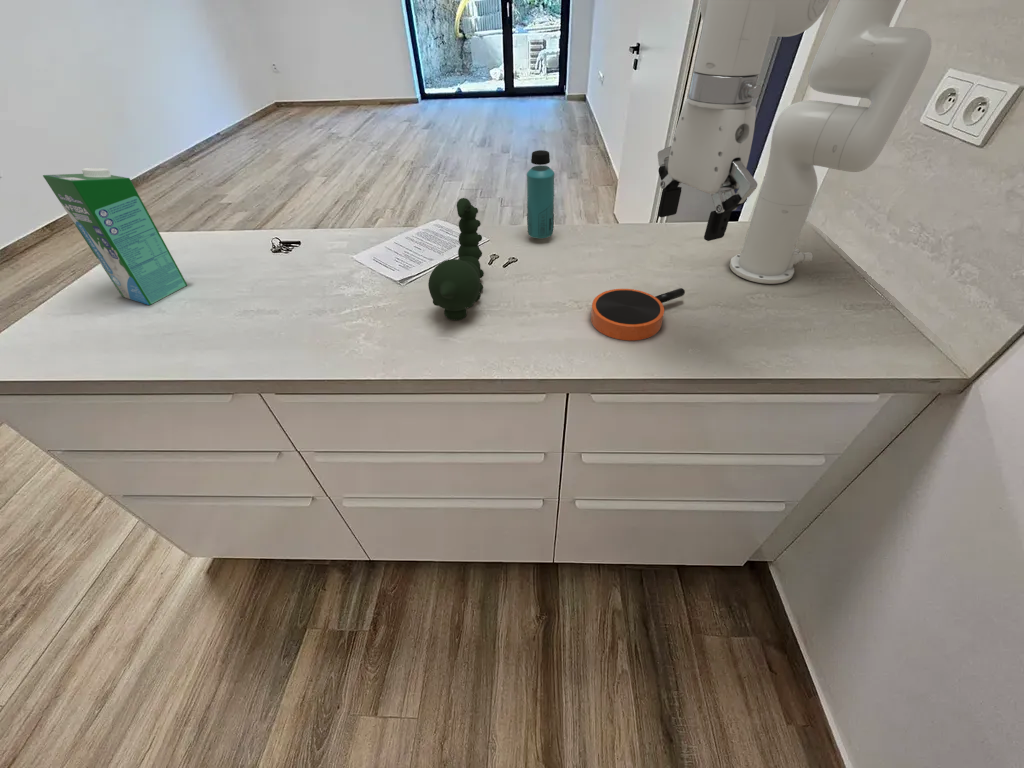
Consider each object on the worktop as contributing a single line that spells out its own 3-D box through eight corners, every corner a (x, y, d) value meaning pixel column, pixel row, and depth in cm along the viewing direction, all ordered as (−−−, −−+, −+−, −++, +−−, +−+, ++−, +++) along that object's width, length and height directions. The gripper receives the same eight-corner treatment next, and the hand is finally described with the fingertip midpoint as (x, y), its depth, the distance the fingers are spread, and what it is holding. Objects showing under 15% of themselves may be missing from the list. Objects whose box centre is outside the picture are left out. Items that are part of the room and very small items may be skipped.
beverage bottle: (551, 245, 114) (554, 156, 100) (524, 243, 115) (523, 155, 101) (555, 234, 118) (558, 147, 105) (529, 232, 119) (528, 147, 106)
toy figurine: (453, 279, 106) (422, 335, 86) (445, 190, 95) (407, 231, 75) (495, 281, 105) (473, 338, 85) (491, 191, 93) (465, 233, 73)
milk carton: (188, 285, 104) (123, 164, 87) (149, 305, 98) (71, 180, 81) (161, 277, 107) (93, 160, 90) (121, 297, 101) (41, 174, 84)
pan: (618, 348, 82) (620, 334, 80) (577, 313, 91) (578, 299, 89) (705, 316, 89) (709, 302, 87) (659, 286, 98) (661, 273, 96)
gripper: (803, 98, 53) (754, 243, 64) (695, 78, 65) (669, 204, 76) (755, 104, 51) (713, 254, 62) (652, 82, 63) (631, 211, 74)
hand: (689, 226), depth 69 cm, fingers open, 9 cm apart
